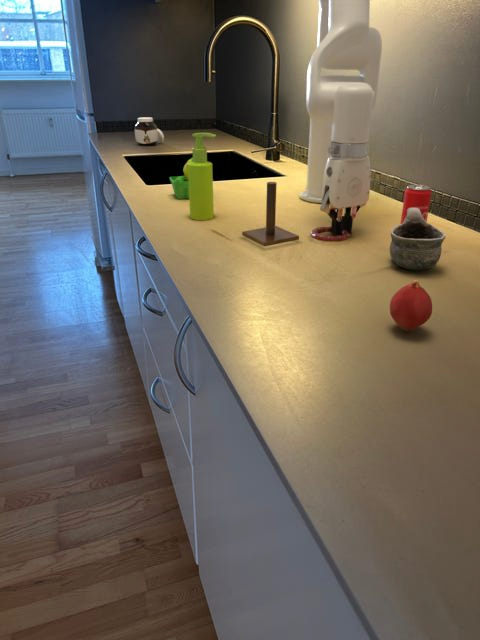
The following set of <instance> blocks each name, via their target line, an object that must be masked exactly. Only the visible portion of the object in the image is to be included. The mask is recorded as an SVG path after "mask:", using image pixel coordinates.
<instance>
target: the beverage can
mask: <svg viewBox="0 0 480 640" xmlns="http://www.w3.org/2000/svg"><path fill="white" fill-rule="evenodd" d="M431 189H432V187H431V186H429V185H425V184H408V185H407V186H406V189H405V190H404V195H403V204H402V209H401V210H402V211H401V217H400V224H402V223H403V222H404V220H405V218H406V212H407V209H409V208H418V209H420V212H421V215H422V217H423V219H424V220H425V221H426V222H427V223H428V216H429V210H430V203H431V197H432V190H431ZM400 224H399V225H400Z"/></svg>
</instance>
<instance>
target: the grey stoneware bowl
mask: <svg viewBox="0 0 480 640" xmlns="http://www.w3.org/2000/svg"><path fill="white" fill-rule="evenodd" d="M446 236H447V235H446V234H445V233H444V232H443V231H440V229H438V228H437V227H436V226H434V225H432V224H430V223H428V221H427V222H426V221H425V220H424V219H423V217H422V215H421V212H420V209H418V208H409V209H407V212H406V218H405V220H404V222H403V223H402V224H398V225H395V226H393V227H392V228H391V230H390V237H391V241H390V243H389V244H390V245H389V255H390V258H391V259H392V261H393V262H394V263H395V264H396V265H397V266H399V268H400V267H401V268H403V269H406V270H410V271H423V270H426V269H427V270H428V269H430V268H432V267H434V266H436V265H437V264H438V262H439V260H441V259H440V258H441V256H442V251H443V249H442V248H443V247H442V244H443V243H444V241H445V239H446Z"/></svg>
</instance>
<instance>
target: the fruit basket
mask: <svg viewBox="0 0 480 640" xmlns="http://www.w3.org/2000/svg"><path fill="white" fill-rule="evenodd" d="M190 162H193V157H191V158H190V159H188V160H187V162H186V163H185V164H184V166H183V169H182V171H183V175H180V176H169V181H170V183H171V186H172V190H173V193H174V196H175V197H176V198H177V199H180V200H183V199H189V179H188V163H190Z"/></svg>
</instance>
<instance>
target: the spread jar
mask: <svg viewBox="0 0 480 640" xmlns="http://www.w3.org/2000/svg"><path fill="white" fill-rule="evenodd" d="M134 138H135V142H136V144H138V145H139V146H141V147H151V146H152V147H153V146H155V145H156V144H162V143H163V142H164V141H165V135H164V133H163V131H162V130H161V129H159V128H158V126H157V125H156V123H155V122H154V118H153V117H150V116H148V117H147V116H146V117H145V116H144V117H138V118H137V123H136V124H135V126H134Z"/></svg>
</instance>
